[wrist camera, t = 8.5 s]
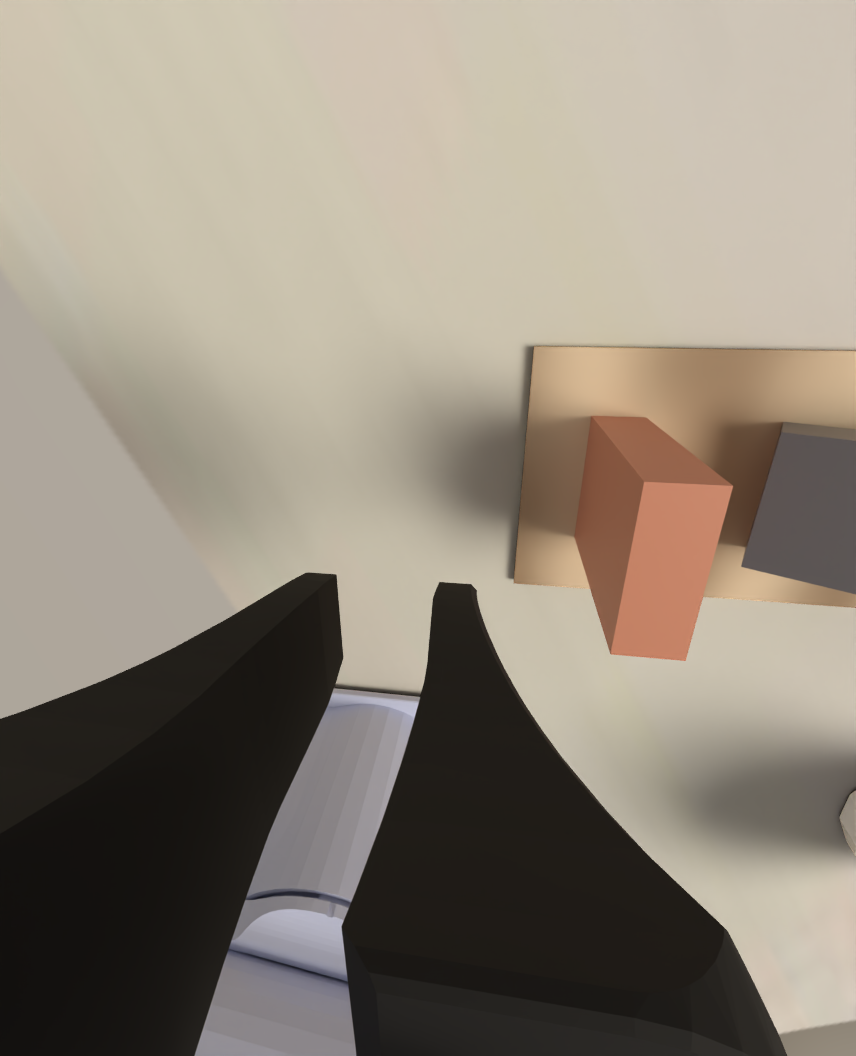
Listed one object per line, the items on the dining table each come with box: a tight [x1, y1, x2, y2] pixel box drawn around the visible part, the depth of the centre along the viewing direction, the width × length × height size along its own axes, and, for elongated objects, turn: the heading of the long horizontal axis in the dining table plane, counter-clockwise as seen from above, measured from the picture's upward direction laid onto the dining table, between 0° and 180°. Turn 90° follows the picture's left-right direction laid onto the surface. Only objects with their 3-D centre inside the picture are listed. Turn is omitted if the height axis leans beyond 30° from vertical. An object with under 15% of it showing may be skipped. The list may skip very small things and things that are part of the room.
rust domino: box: [574, 416, 733, 661], centre depth 15 cm, size 2×5×7 cm, turn 179°
